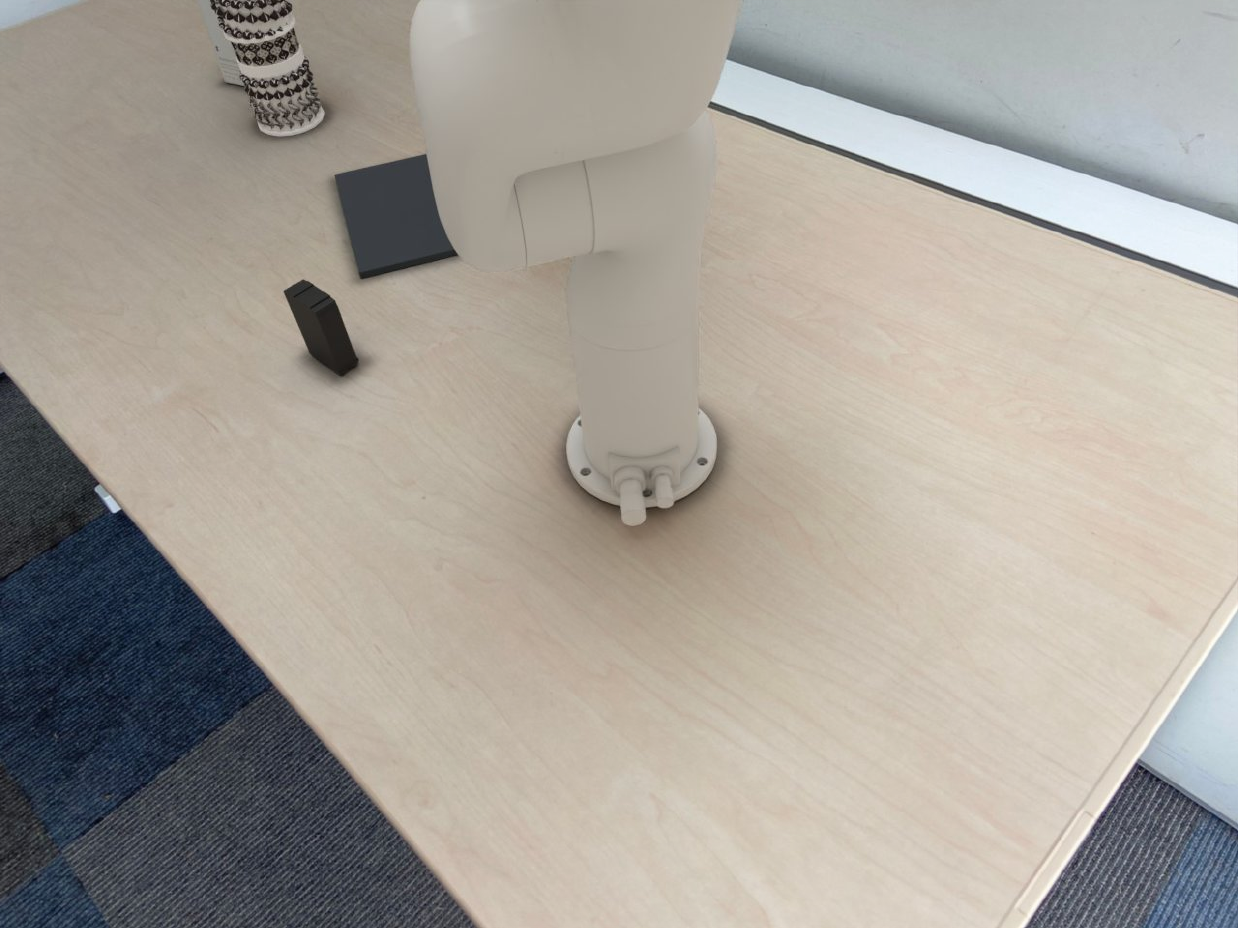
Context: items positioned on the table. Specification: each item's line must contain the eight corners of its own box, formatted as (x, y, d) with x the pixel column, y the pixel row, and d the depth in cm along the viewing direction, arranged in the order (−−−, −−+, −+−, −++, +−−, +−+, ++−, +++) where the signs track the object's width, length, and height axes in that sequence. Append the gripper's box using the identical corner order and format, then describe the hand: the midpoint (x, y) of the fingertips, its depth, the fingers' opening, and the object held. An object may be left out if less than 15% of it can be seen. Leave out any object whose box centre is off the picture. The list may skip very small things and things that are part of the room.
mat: (581, 224, 100) (580, 218, 99) (360, 279, 96) (358, 272, 95) (532, 135, 113) (531, 129, 112) (336, 180, 109) (334, 174, 108)
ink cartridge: (360, 364, 87) (336, 297, 81) (341, 377, 86) (314, 311, 80) (329, 342, 90) (303, 276, 84) (310, 355, 89) (282, 288, 82)
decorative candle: (292, 145, 114) (213, -76, 96) (240, 128, 118) (154, -88, 99) (342, 111, 119) (277, -106, 100) (291, 96, 123) (219, -116, 104)
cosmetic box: (224, 83, 126) (179, -32, 115) (254, 64, 130) (213, -50, 118) (271, 94, 123) (229, -23, 112) (300, 74, 127) (262, -41, 116)
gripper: (540, -147, 65) (565, 88, 78) (541, -217, 76) (563, -1, 90) (434, -138, 65) (476, 95, 78) (451, -209, 76) (486, 5, 90)
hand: (522, 43), depth 84 cm, fingers closed on medicine box, 8 cm apart
